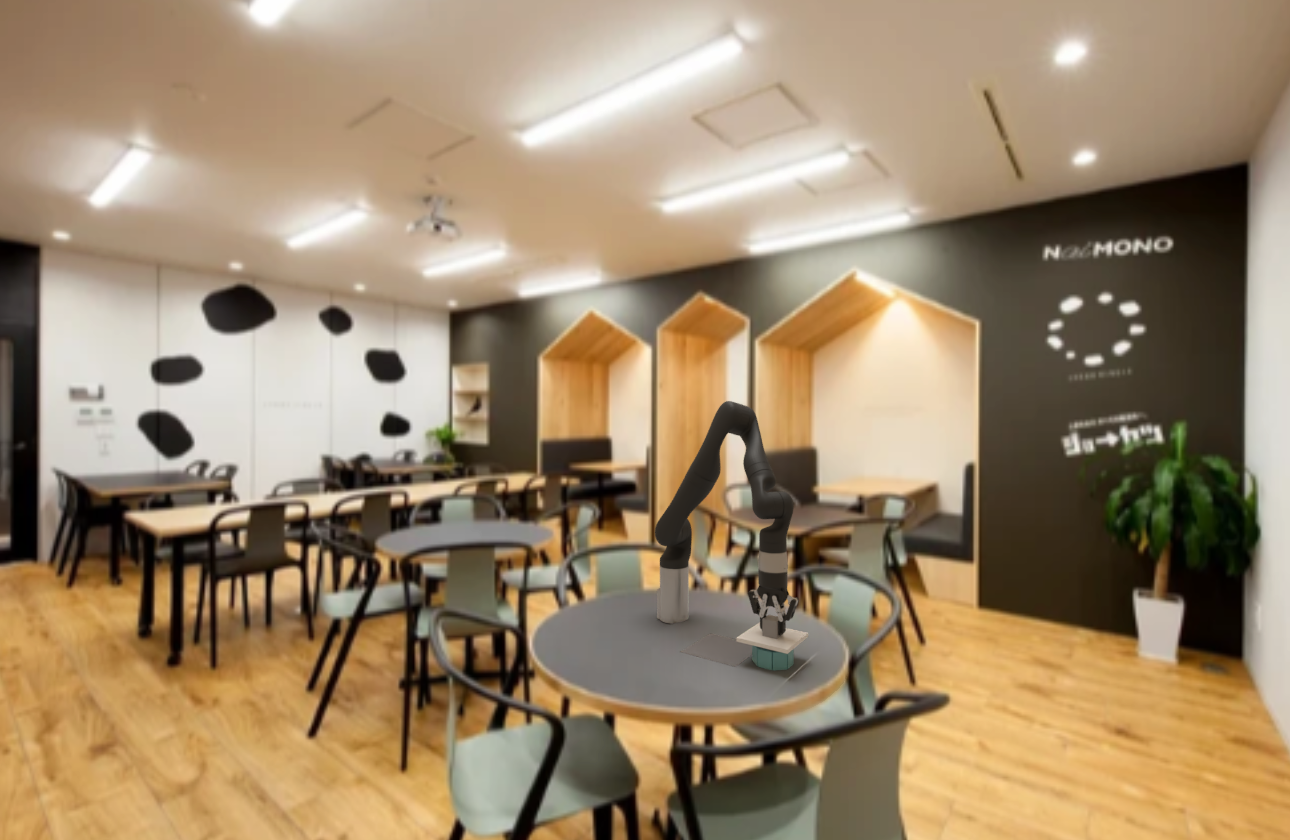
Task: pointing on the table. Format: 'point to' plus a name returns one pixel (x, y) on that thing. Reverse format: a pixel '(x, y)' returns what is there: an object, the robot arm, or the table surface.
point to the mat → (720, 649)
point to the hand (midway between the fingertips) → (772, 632)
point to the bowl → (772, 658)
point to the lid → (772, 636)
